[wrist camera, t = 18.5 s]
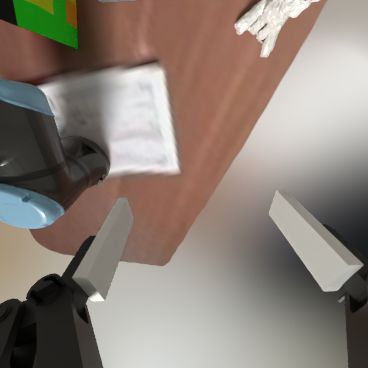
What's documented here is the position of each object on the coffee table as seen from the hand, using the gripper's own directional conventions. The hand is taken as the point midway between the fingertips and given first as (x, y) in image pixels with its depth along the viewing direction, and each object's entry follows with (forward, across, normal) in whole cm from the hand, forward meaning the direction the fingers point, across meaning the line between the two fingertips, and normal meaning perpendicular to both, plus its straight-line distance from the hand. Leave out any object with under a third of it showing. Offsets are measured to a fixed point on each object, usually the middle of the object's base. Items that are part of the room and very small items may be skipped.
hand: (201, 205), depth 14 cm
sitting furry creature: (+33, +16, +20) cm, 42 cm away
